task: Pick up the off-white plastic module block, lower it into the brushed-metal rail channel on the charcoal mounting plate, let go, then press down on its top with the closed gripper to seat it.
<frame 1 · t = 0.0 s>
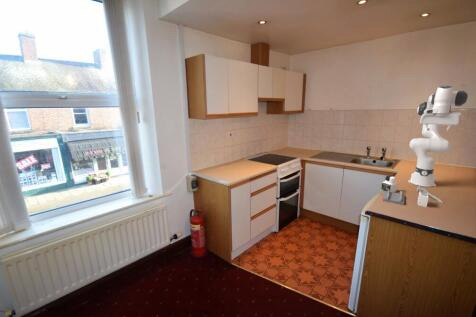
hand: (436, 131, 156), 48 cm above the counter, fingers open, 8 cm apart
din rail: (394, 195, 162), on the rail base, point 2 cm above the counter
din module: (421, 204, 153), on the counter
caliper: (429, 197, 165), on the counter
medicine bottle: (388, 191, 177), on the counter
rail base: (393, 198, 163), on the counter
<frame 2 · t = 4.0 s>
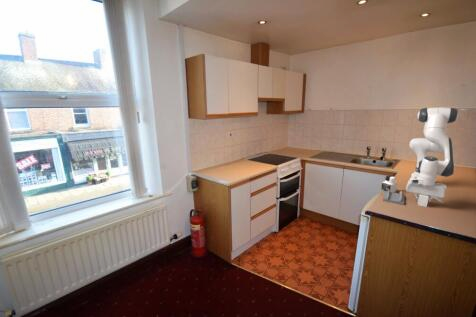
hand: (422, 200, 153), 3 cm above the counter, fingers closed on din module, 4 cm apart
din module: (421, 204, 153), on the counter, touching gripper
everything else where it was.
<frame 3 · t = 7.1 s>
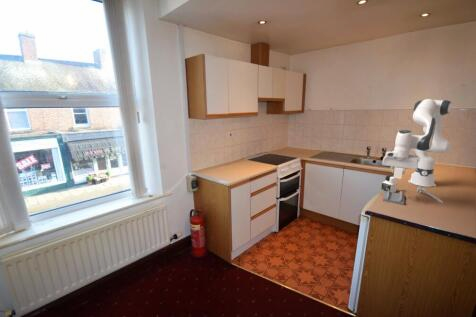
hand: (397, 173, 158), 19 cm above the counter, fingers closed on din module, 4 cm apart
din module: (397, 176, 159), point 16 cm above the counter, touching gripper
everything else where it was.
when the fingers open (6 cm above the counter, at t = 10.0 s): din module drops 1 cm, resting on rail base.
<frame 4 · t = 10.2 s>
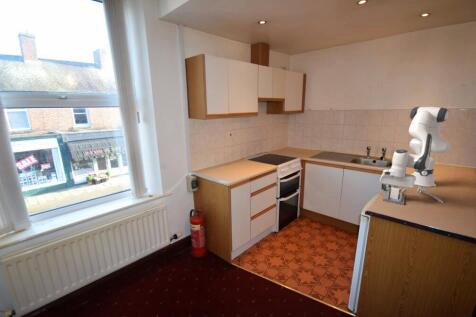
hand: (394, 191, 161), 6 cm above the counter, fingers open, 6 cm apart
din module: (394, 196, 162), point 1 cm above the counter, touching rail base
everything else where it was.
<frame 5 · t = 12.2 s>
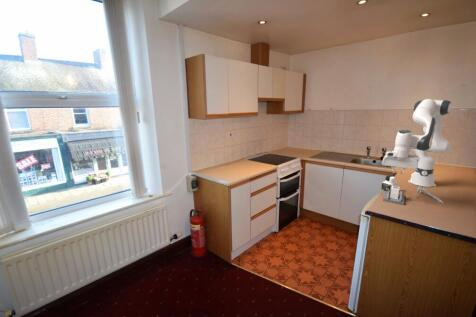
hand: (397, 173, 158), 19 cm above the counter, fingers open, 3 cm apart
nothing on the counter moved.
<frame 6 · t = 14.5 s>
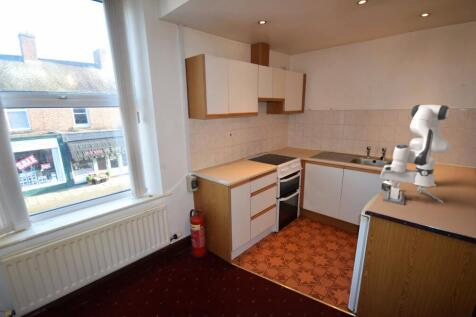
hand: (395, 186, 160), 9 cm above the counter, fingers closed, pressing on din module
din module: (394, 196, 162), point 2 cm above the counter, touching gripper, rail base
everything else where it was.
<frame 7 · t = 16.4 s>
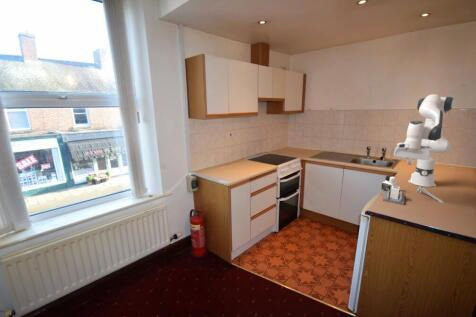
hand: (409, 164, 158), 25 cm above the counter, fingers closed
din module: (394, 196, 162), point 1 cm above the counter, touching rail base
everything else where it was.
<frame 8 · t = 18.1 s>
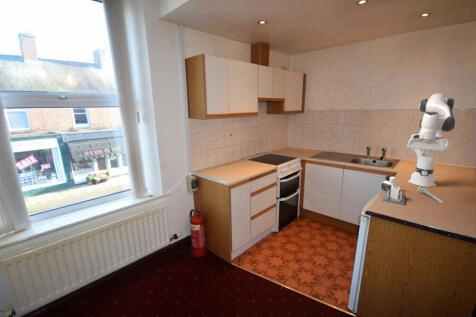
hand: (423, 155, 157), 31 cm above the counter, fingers closed
nothing on the counter moved.
at the end: din module inside the target area on the rail base (0.0 cm from its centre), point 1.5 cm above the rail base's base; din module tilted 0°; the gripper is holding nothing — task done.
